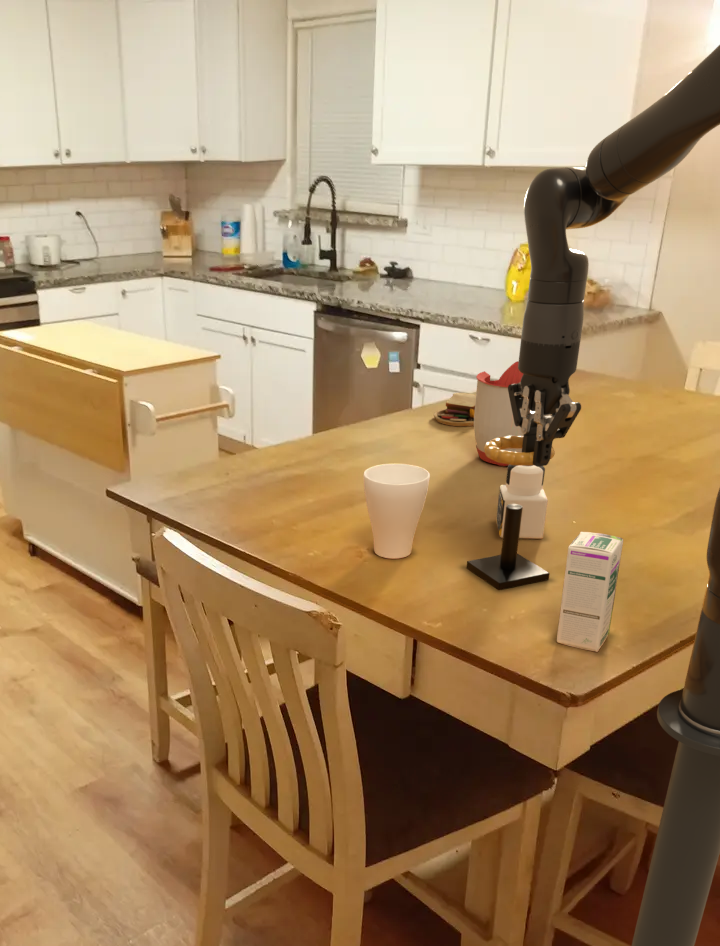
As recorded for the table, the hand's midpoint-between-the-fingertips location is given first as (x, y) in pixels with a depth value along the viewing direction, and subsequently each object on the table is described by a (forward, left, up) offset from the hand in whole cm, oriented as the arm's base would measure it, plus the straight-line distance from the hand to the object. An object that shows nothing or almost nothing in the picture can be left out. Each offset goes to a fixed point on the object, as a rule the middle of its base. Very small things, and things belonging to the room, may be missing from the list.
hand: (534, 462), depth 133 cm
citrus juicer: (+55, -35, -20) cm, 68 cm away
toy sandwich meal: (+84, -42, -20) cm, 96 cm away
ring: (+4, 0, +1) cm, 4 cm away
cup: (+21, +10, -20) cm, 31 cm away
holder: (+6, -2, -20) cm, 21 cm away
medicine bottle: (+20, -14, -20) cm, 32 cm away
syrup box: (-16, +1, -20) cm, 26 cm away
